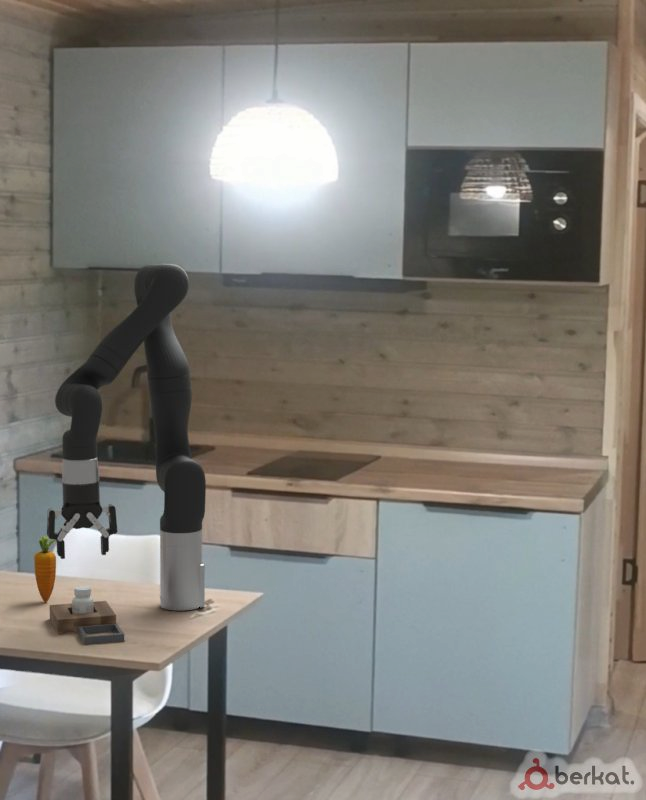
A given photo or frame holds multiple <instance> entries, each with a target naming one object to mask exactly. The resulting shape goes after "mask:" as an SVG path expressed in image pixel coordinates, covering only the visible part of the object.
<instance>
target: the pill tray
mask: <svg viewBox="0 0 646 800" xmlns="http://www.w3.org/2000/svg"><path fill="white" fill-rule="evenodd" d="M113 632H114V633H113ZM103 633H107V634H103ZM77 634H78V636H79V638H80V639H81V642H82V643H83V645H85V646H87V645H98V644H109V643H120V642H121V643H122V642H125V633H124V631H123V630H122V628H121V627H120V625H119V624H118V623H116V624H105V625H93V626H80V627H78V633H77ZM93 634H96V635H93Z"/></svg>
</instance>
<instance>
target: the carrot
mask: <svg viewBox="0 0 646 800" xmlns="http://www.w3.org/2000/svg"><path fill="white" fill-rule="evenodd" d="M48 541H49V542H48ZM54 542H56V540H54V539H50V540H49V537H48V536H45V535H43V536H42V537H41V538H39V539H38V543H39V547H40V549H41V551H38V552H36V553H35V554H34V557H33V558H34V559H33V561H34V575H35V581H36V585H37V587H36V588H37V589H38V592H39V595H40V597H41V600H42V601H43V602H44V603H47V602H48V601H50V598H51V596H52V594H53V590H54V586H55V581H56V576H57V575H56V573H57V557H56V554H55V552H54V551H50V550H49V549H50V546H51V545H52V544H53V543H54Z"/></svg>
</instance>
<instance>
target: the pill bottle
mask: <svg viewBox="0 0 646 800" xmlns="http://www.w3.org/2000/svg"><path fill="white" fill-rule="evenodd" d="M91 595H92V587H91V586H88V585H87V586H85V585H80V586H76V587H74V597H73V598H72V601H71V603H72V614H83V613H94V612H93V602H94V599H93V597H92V596H91Z"/></svg>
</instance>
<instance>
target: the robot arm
mask: <svg viewBox="0 0 646 800" xmlns="http://www.w3.org/2000/svg"><path fill="white" fill-rule="evenodd" d="M133 288H134V295H135V301H136V308H135V309H133V311H132V312H131V313H130V314H129V315H128V316H126V317H125V318H124V319H122V321H120V322H119V324H117V325H116V326H114V328H112V329H111V330H110V331H109V332H108V333H107V334H106V335H105V336H104V337H103V338H102V339H101V340H100V342H99V343H97V346H95V348H94V350H93V351H92V352H91V353H90V355H89V357H88V358H87V360H86V361H85V362H84V363H83V364H82V365H80V366H79V367H78V368H77V369H76V370H75V371H74V372H73V373H71V374H70V376H68V377H67V378H66V379H65V380H64V381H63V382H62V383H61V385H60V386H59V388H58V389H57V392H56V394H55V398H54V405H55V408H56V409H57V411H58V412H59V413H60V414H62V415H64V416H66V417H71V423H70V428H69V429H68V430H65V432H64V433H63V435H62V447H61V448H62V465H61V477H62V478H61V480H62V482H61V483H62V485H61V486H62V507H61V509H53V508H48V509H47V514H46V515H47V518H46V519H47V521H46V523H47V524H46V537H48V539H50V540H53V539H54V540H55V543H56V554H57V556H58V557H60V559H61V560H65V559H66V550H65V549H66V548H65V546H66V544H65V540H64V539H65V538H66V536H67V535H68V534H69V533H70V532H71V530H72V529H75V530H80V529H82V528H84V529H91V528H92V527H95V528H96V530H98V532H99V533H100V534H101V536H100V554H101V556H107V553H109V551H110V541H109V540H110V539H109V538H110V537H111V536H113V535H114V534H115V535H116V534H117V533H118V523H117V509H116V507H115V505H113V504H112V503H109V504H108V505H101V500H100V499H101V498H100V497H101V496H100V475H101V474H100V468H99V467H100V466H99V461H98V443H97V437H98V433H99V429H100V424H101V419H102V415H103V414H102V412H103V401H102V396H101V394H100V392H99V390H100V388H102V387H105V386H108V385H111V384H112V383H113V382H114V381H115V380H116V379H117V377H118V376H119V375H120V373H121V372H122V370H124V368H125V366H126V365H127V364H128V362H129V360H130V359H131V358H132V356H133V355H134V353H136V351H137V350H138V349H139V347H140V346H141V345H142V343H143V346H144V356H145V361H146V372H147V376H146V377H147V385H148V394H149V401H150V408H151V415H152V420H153V421H152V422H153V428H154V435H155V476H156V477H155V478H156V482H157V485H158V487H159V488H160V490H161V491H162V492H163V493H164V495H163V496H164V498H163V499H164V504H163V514H162V515H161V516H160V518H159V541H160V542H159V555H160V556H159V567H160V568H159V570H160V571H159V573H160V574H159V575H160V576H159V578H160V581H159V584H160V585H159V587H160V588H159V591H160V593H159V603H160V604H159V605H160V607H161V608H162V609H164V610H169V611H179V612H180V611H191V610H196V609H199V607H200V608H205V607H204V606H206V603H205V602H206V599H205V598H206V595H205V594H206V593H205V591H206V584H205V580H206V578H205V575H206V574H205V573H206V572H205V571H206V569H205V566H206V565H205V564H204V563H203V521H204V518H205V513H206V496H207V495H206V492H207V487H206V485H207V483H206V474H205V471H204V469H203V467H202V465H200V463H198V462H197V461H195V460H194V459H193V458H192V453H191V447H190V442H189V435H188V434H189V432H188V431H189V428H188V427H189V420H190V414H191V407H192V398H193V397H192V395H193V392H192V391H193V390H192V379H191V371H190V365H189V362H188V359H187V356H186V354H185V352H184V350H183V348H182V346H181V344H180V342H179V340H178V338H177V336H176V334H175V331H174V327H173V323H172V315H171V314H172V312H173V311H174V310H175V309H176V308H177V307H178V306H179V305H181V303H182V302H183V300H184V299H185V298H186V296H187V295H188V292H189V288H190V281H189V276H188V274H187V272H186V271H185V269H183V268H182V267H181V266H179V265H177V264H175V263H174V264H173V263H156V264H155V263H151V264H145V265H144V266H142V267H141V268H140V269H139V270H138V271H137V273H136V275H135V278H134V287H133ZM103 512H104V515H106V516H107V517H108V527H107V528H105V527H104V526H103V525H102V523H101V522H100V521H99V517H100V516H101V515H102V514H103ZM60 516H62V517H63V518H64V522H63V523H62V525H61V527H60V529H58V531H57V532H55V531H56V529H55V528H56V527H55V525H56V521H57V520H59V517H60Z"/></svg>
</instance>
